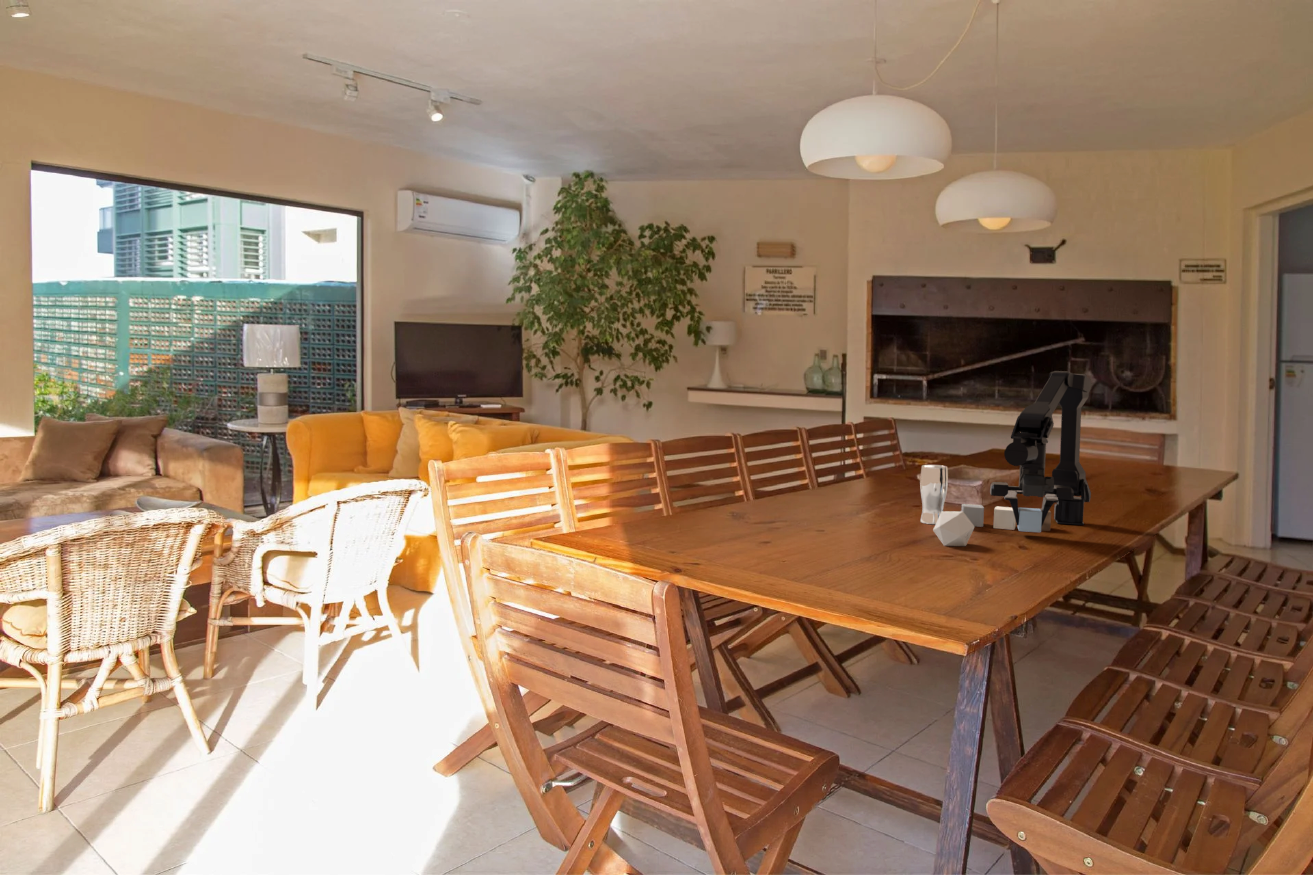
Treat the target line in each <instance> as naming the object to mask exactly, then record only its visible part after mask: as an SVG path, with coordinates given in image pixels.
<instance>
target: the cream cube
mask: <svg viewBox="0 0 1313 875" xmlns="http://www.w3.org/2000/svg"><path fill="white" fill-rule="evenodd" d="M1016 526H1017V523H1016V520H1015V516H1014V512H1013V509H1012V506H1011V507H1009V506H998V505H997V506H995V507H994V510H993V529H1000V530H1001V529H1002V530H1011V531H1012V530H1013V531H1014V530H1015V529H1016Z"/></svg>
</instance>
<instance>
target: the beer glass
mask: <svg viewBox="0 0 1313 875" xmlns="http://www.w3.org/2000/svg"><path fill="white" fill-rule="evenodd" d="M948 478H949V470H948V466H946V465H941V464H923V465H921V470H920V478H919V479H920V480H919V485H920V486H919V487H920V489H919V490H920V497H921V503H922V504H921V505H922V509H921V510H922V511H921V516H920V521H919V522H920V523H922V524H926V525H934V526H935V525H936V522H937V520H938V518H939V516H940V514H941V511H944V506H945V501H946V497H947V493H948V485H949V484H948V483H949V482H948V481H949V479H948Z"/></svg>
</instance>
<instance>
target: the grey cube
mask: <svg viewBox="0 0 1313 875" xmlns="http://www.w3.org/2000/svg"><path fill="white" fill-rule="evenodd" d="M961 511H963V512H964V513H965V515H966V516H967V517H968V519H969V520H970V521H971V523H972V524H973V525H974V527H981V528H982V527H984V516H985V513H984V512H985V507H984V506H983V505H982V504H968V503H962V504H961Z"/></svg>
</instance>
